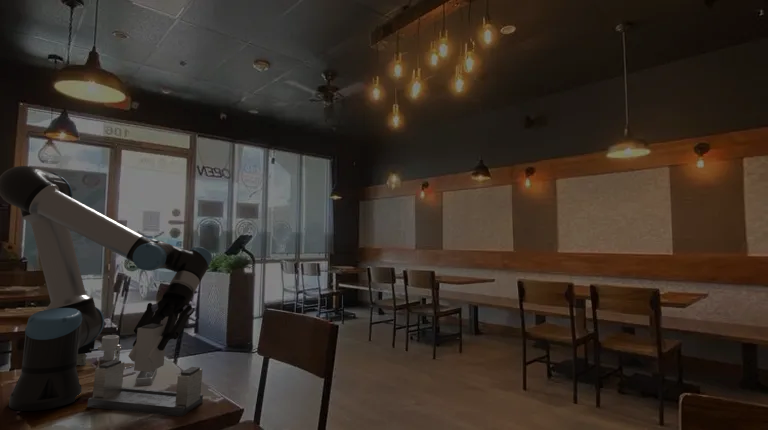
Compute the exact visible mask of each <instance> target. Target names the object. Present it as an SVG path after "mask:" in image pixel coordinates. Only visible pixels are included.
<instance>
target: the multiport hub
mask: <svg viewBox="0 0 768 430" xmlns="http://www.w3.org/2000/svg"><path fill="white" fill-rule="evenodd" d="M157 371H158V368H157V369H155V370H153V371H151V372H146V371H139V373H138V374H137V375H136V377H135V386H143V385H144V386H145V385H146V386H147V385H148V386H149V385H152V384H153V382H154V380H155V378H156V375H157Z"/></svg>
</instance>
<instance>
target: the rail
mask: <svg viewBox="0 0 768 430" xmlns="http://www.w3.org/2000/svg"><path fill="white" fill-rule="evenodd" d="M124 363H125V361H122V360H121V359H119V360H114V359H113V360H109V361H107V362H104V363H102V364H98V365H99V366H98V367H95V370H94V380H93V389H92V397H89V398H88V399H87V406H86V407H87V408H91V409H93V408H95V409H101V410H102V409H104V410H112V411H113V410H114V411H121V412H131V413H132V412H134V413H143V414H154V415H162V416H163V415H165V416H172V417H184V416H185V415H186V413H187V412H188V413H190V412H191V411H192V410H193V408H194V407H195V408H196V407H198V406H199V405H200V403H201V402H202V403H203V399H204V398H203V397H204V394H203V393H202V392H201V391H202V382H203V368H201V367H198V366H191V367H188V368H187V369H185V370H183V371H181V372H180V374H178V375H177V381H176V391H170V390H158V389H149V388H148V389H147V388H138V387H137V388H136V387H126V386H124V387H123V379H124V370H125V369H124ZM202 403H201V404H202ZM198 404H199V405H198ZM197 405H198V406H197ZM195 408H194V409H195ZM190 410H191V411H190ZM188 413H187V414H188ZM183 415H184V416H183Z"/></svg>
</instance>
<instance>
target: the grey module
mask: <svg viewBox="0 0 768 430" xmlns="http://www.w3.org/2000/svg"><path fill="white" fill-rule="evenodd" d="M165 326H166V324H163V323H159V324H153V323H152V324H149V325H145V326H142V327H141V328H138V329H137V335H136V338H137V341H136V353H135V362H134V363H133V364H134V367H133V371H136V372H140V371H146V372H151V371H153V370H155V369H157V370H158V369H159V368H161V367H164V365H165V355H166V354H165V353H166V347H165V348H164V350H163V351H160V353H159V354H158V356H157V358H156V360H155V362H154V363H151V362H150V361H149V359H148V358H147V357H148V355H149V353H150V351H151V350H152V348H153V346H154V344H155V343H156V341H157V339H158V337H159V336H162V337H163V334H162V333H164V330H165Z"/></svg>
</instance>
